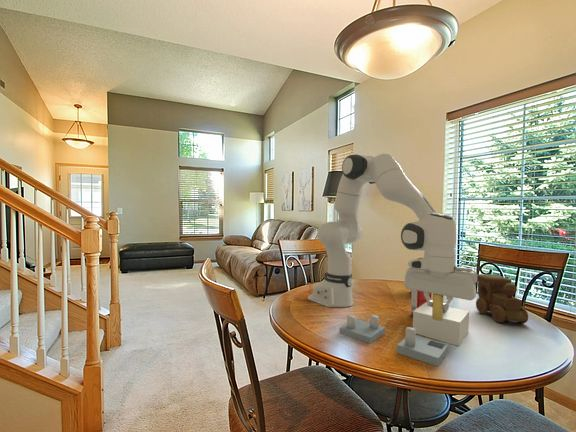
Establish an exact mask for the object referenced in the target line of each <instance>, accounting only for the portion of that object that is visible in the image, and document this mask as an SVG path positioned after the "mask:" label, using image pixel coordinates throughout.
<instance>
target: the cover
mask: <svg viewBox="0 0 576 432" xmlns="http://www.w3.org/2000/svg"><path fill="white" fill-rule="evenodd" d="M443 303H445V302H444V301H443ZM469 325H470V311H469V310H465V309H461V308H456V307H451V306H449V309H448V310H443V320H442V321H437V320H433V319H432V307H430V306H427V302H426V303H424V304H423V305H421V306H420V307H419V308H417V309H416V310H414V311H413V315H412V328H414V329H416V335H418V336H421V337H425V338H428V339H432V340H435V341H439V342H442V343H446V344H449V345H454V346H458V347H460V346H461V344H462V343H463V341H464V340H465V338H466V337H467V335H468V334H469V330H470V329H469V328H470V326H469Z"/></svg>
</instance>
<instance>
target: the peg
mask: <svg viewBox="0 0 576 432" xmlns="http://www.w3.org/2000/svg"><path fill="white" fill-rule="evenodd" d="M432 300H433V306H432V319H433V320H437V321H442V320H443V309H442V304H443V302H444V295H439V294H434V293H432Z"/></svg>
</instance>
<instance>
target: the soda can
mask: <svg viewBox="0 0 576 432" xmlns="http://www.w3.org/2000/svg"><path fill="white" fill-rule="evenodd" d="M429 297H430V299H431V300H433V293H430V295H429ZM426 302H427V300H426V298H425V296H424V292H423V291H418V290H413V289H412V292H411V300H410V314H411V315H412V316H413V311H414V310H416V309H417V308H419V307H420V306H421V305H423V304H424V303H426Z"/></svg>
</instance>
